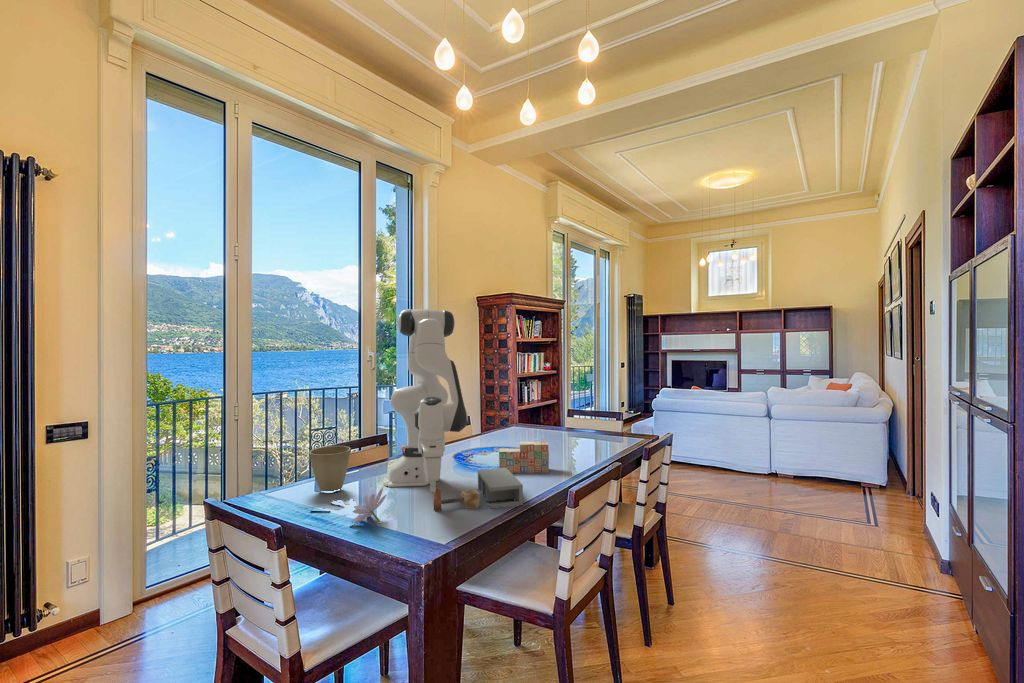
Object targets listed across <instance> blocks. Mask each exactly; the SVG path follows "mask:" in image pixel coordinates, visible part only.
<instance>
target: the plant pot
mask: <svg viewBox="0 0 1024 683" xmlns="http://www.w3.org/2000/svg"><path fill="white" fill-rule="evenodd" d="M350 455H351V447H350V446H346V445H330V446H329V445H328V446H322V447H318V448H314V449H311V450H309V459H310V464H311V468H312V472H313V475H314V478H315V480H316V484H317V486H318V488H319V490H322V491H334V490H338V489H341V488H342V489H343V485H344V482H345V479H346V476H347V471H348V468H349V462H350ZM342 489H341V490H342Z"/></svg>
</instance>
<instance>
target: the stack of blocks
mask: <svg viewBox="0 0 1024 683" xmlns="http://www.w3.org/2000/svg"><path fill="white" fill-rule="evenodd" d="M549 456H550V451H549V442H548V441H541V440H540V441H539V440H537V441H520V442H519V448H499V452H498V459H499V460H498V463H499V465H498V466H499V468H507V469H508V470H509V471H510V472H511V473H512V474H515V473H516V474H524V473H525V474H528V473H529V474H530V473H533V474H534V473H535V474H536V473H537V474H538V473H539V474H540V473H543V474H545V473H549V472H550V471H549V470H550V467H549V465H550V464H549V462H550V458H549Z"/></svg>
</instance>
